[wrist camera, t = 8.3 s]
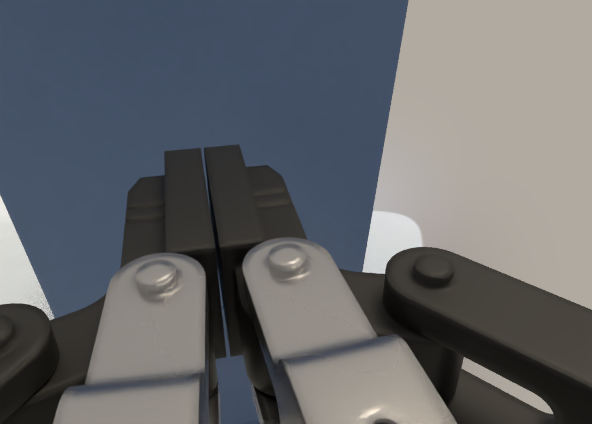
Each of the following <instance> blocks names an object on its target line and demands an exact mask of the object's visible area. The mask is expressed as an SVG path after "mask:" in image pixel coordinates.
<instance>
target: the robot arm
mask: <svg viewBox="0 0 592 424" xmlns="http://www.w3.org/2000/svg"><path fill="white" fill-rule="evenodd" d="M204 158H205V167H206V177H207V186H208V195H207V188H206V181H205V174H204V168H203V161H202V154H201V148H193V149H182V150H171V151H164V165H165V175H162V176H152V177H142V178H139V180H138V181H137V182H136V183H135V184H134V185H133V186H132V188H131V189H130V190H129V191H128V195H127V206H126V208H127V210H126V216H125V226H124V236H123V247H122V257H121V267H120V269H119V270H118V271H117V272H116V273H115V274H114V276H113V277H112V279H111V281H110V283H109V286H108V290H107V293H106V294H105V295H104V296H103V297H102V298H100V299H99V300H97V301H96V302H94V303H92V304H91V305H89V306H87V307H85V308H82V309H80V310H77V311H75V312H72V313H69V314H67V315H64V316H61V317H58V318H55V319H53V320H50V321H49V318H48V317H47V315H46V314H45V313H44V312H43V311H42V310H41V309H39V308H37V307H35V306H31V305H27V304H3V305H0V424H221V414H220V394H219V386H218V378H217V368H216V359H219V358H225V357H227V356H226V346H225V336H224V327H223V317H222V307H221V298H220V288H221V295H222V301H223V308H224V315H225V322H226V329H227V336H228V342H229V349H230V356H231V357H233V356H239V355H243V357H244V362H245V368H246V373H247V376H248V378H249V380H250V382H251V391H252V396H253V400H254V404H255V407H256V411H257V415H258V418H259V422H260V424H592V310H591V309H588V308H586V307H583V306H581V305H579V304H576V303H574V302H571V301H569V300H566V299H564V298H562V297H559V296H557V295H554V294H552V293H550V292H547V291H545V290H542V289H540V288H537V287H535V286H533V285H530V284H528V283H525V282H523V281H521V280H518V279H516V278H513V277H511V276H508V275H506V274H503V273H501V272H499V271H496V270H494V269H492V268H489V267H487V266H484V265H482V264H479V263H477V262H474V261H472V260H470V259H467V258H465V257H462V256H460V255H458V254H455V253H453V252H450V251H447V250H443V249H439V248H432V247H416V248H410V249H407V250H403V251H401V252H399V253H397V254H396V255H394V256H393V257H392V258H391V259H390V260H389V262H388V263H387V266H386V272H385V274H376V273H364V272H354V271H348V270H344V269H340V268H338V267H337V265H336V264H335V262H334V260H333V258H332V257H331V255H330V254H329V252H328V251H327V250H326V249H325V248H323V247H322V246H320V245H319V244H317V243H315V242H312V241H309V240H308V239H307V237H306V234H305V232H304V229H303V227H302V224H301V222H300V219H299V217H298V214H297V212H296V209H295V207H294V204H292V199H291V197H290V194H289V192H288V189H287V187H286V184H285V182H284V179H283V177H282V175H280V174H279V173H278V172H276V171H275V170H273V169H272V168H271V167H269V166H268V165H262V166H252V167H246V166H245V162H244V159H243V155H242V152H241V148H240V145H239V144H237V145H226V146H215V147H205V148H204ZM208 196H209V201H208ZM209 205H210V208H209ZM217 267H218V269H217ZM218 274H219V278H218ZM219 281H220V288H219ZM464 357H466V358H468V359H470V360H472V361H474V362H475V363H478V364H479V365H481V366H483V367H485V368H487V369H489V370H491V371H493V372H495V373H496V374H498V375H500V376H502V377H504V378H506V379H508V380H510V381H512V382H514V383H516V384H518V385H520V386H522V387H523V388H525V389H527V390H529V391H531V392H533V393H535V394H536V395H538V396H539V397H541V398H542V399H543V400H544V401H545V402H546V403H547V404H548V405H549V406H550V408H551V409H552V411H553V413H554V414H548V413H545V412H542V411H540V410H538V409H536V408H534V407H532V406H530V405H529V404H526V403H525V402H523V401H521V400H519V399H517V398H515V397H514V396H512V395H510V394H508V393H506V392H504V391H502V390H500V389H499V388H497V387H495V386H493V385H491V384H489V383H487V382H485V381H484V380H482V379H480V378H478V377H476V376H474V375H472V374H471V373H469V372H467V371H465V370H463V369H461V367H462V363H463V358H464Z"/></svg>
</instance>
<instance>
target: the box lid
mask: <svg viewBox="0 0 592 424" xmlns="http://www.w3.org/2000/svg"><path fill="white" fill-rule="evenodd" d="M407 6H408V0H0V195H1V197H2V200H3V202H4V204H5V206H6V209H7V211H8V213H9V215H10V218H11V220H12V222H13V224H14V227H15V229H16V231H17V233H18V236H19V238H20V240H21V242H22V245H23V247H24V249H25V252H26V254H27V256H28V258H29V261H30V263H31V265H32V267H33V270H34V272H35V274H36V276H37V279H38V281H39V283H40V285H41V288H42V290H43V292H44V294H45V297H46V299H47V301H48V303H49V306H50V308H51V310H52V313H53V315H54V317H55V318H58V317H61V316H64V315H67V314H69V313H72V312H75V311H77V310H80V309H82V308H85V307H87V306H89V305H91V304H92V303H94V302H96V301H97V300H99V299H100V298H102V297H103V296H104V295H105V294H106V293H107V290H108V286H109V283H110V281H111V279H112V277H113V276H114V274H115V273H116V272H117V271H118V270H119V269H120V267H121V257H122V247H123V236H124V226H125V216H126V210H127V208H126V206H127V195H128V191H129V190H130V189H131V188H132V186H133V185H134V184H135V183H136V182H137V181H138V180H139V178H142V177H152V176H162V175H165V165H164V151H171V150H182V149H193V148H201V154H202V161H203V168H204V174H205V181H206V188H207V195H208V186H207V177H206V167H205V158H204V148H205V147H215V146H226V145H237V144H239V145H240V148H241V152H242V155H243V159H244V162H245V166H246V167H252V166H262V165H268V166H269V167H271V168H272V169H273V170H275V171H276V172H278V173H279V174H280V175H282V177H283V179H284V182H285V184H286V187H287V189H288V192H289V194H290V197H291V199H292V204H294V207H295V209H296V212H297V214H298V217H299V219H300V222H301V224H302V227H303V229H304V232H305V234H306V237H307V239H308V240H309V241H312V242H315V243H317V244H319V245H320V246H322V247H323V248H325V249H326V250H327V251H328V252H329V254H330V255H331V257H332V258H333V260H334V262H335V264H336V265H337V267H338V268H340V269H344V270H348V271H354V272H362V270H363V264H364V258H365V252H366V247H367V241H368V235H369V229H370V223H371V217H372V211H373V205H374V200H375V194H376V188H377V182H378V176H379V170H380V164H381V158H382V153H383V146H384V141H385V135H386V128H387V123H388V117H389V111H390V105H391V100H392V94H393V87H394V82H395V76H396V70H397V65H398V59H399V53H400V46H401V41H402V35H403V29H404V23H405V18H406V12H407ZM208 201H209V196H208ZM209 208H210V205H209ZM217 269H218V267H217ZM218 278H219V274H218ZM219 288H220V281H219ZM220 298H221V307H222V306H223V301H222V295H221V288H220Z"/></svg>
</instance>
